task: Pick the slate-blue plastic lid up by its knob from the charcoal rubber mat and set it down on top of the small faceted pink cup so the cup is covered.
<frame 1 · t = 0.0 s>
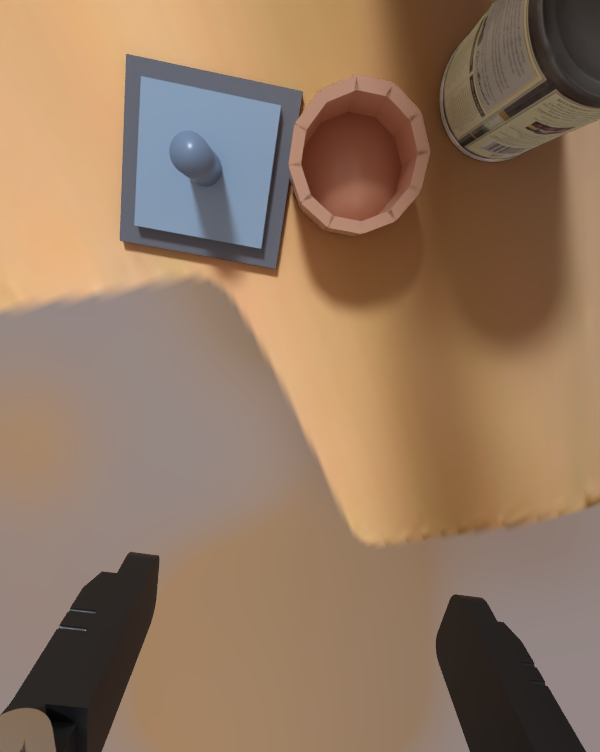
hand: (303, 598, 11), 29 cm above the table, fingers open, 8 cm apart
coffee can: (498, 94, 32), on the table
mat: (208, 171, 34), on the table
faceted pink cup: (349, 172, 34), on the table
lid: (206, 169, 33), point 1 cm above the table, touching mat
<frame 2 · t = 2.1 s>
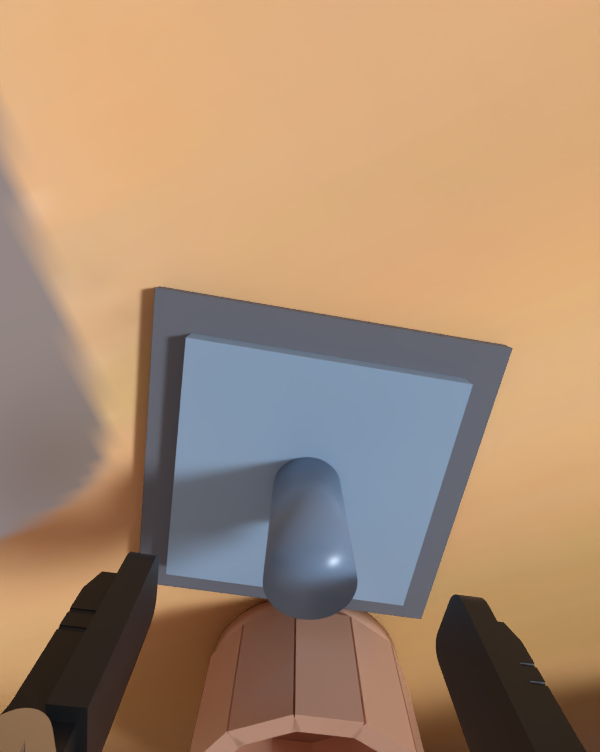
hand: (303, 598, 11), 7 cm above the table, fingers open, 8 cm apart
mat: (306, 469, 18), on the table
faceted pink cup: (304, 667, 21), on the table
lid: (306, 476, 17), point 1 cm above the table, touching mat
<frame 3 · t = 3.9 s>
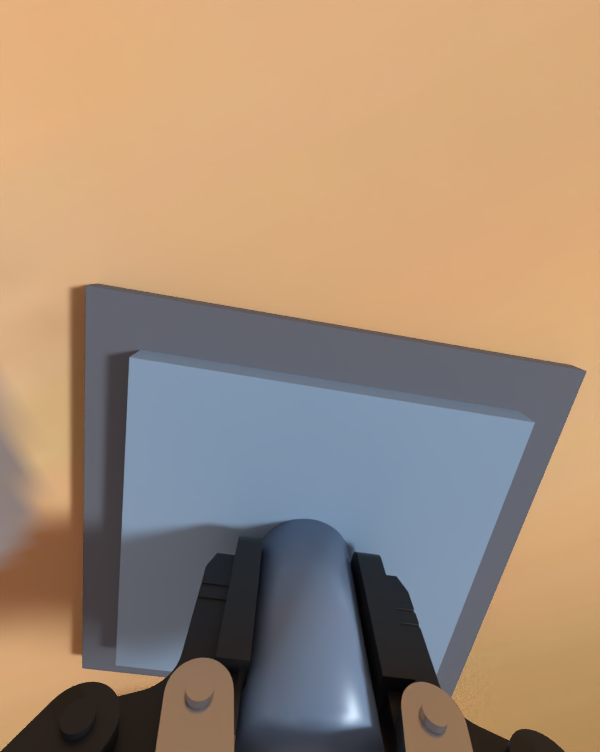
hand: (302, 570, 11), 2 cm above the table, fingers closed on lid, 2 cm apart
mat: (302, 526, 13), on the table
lid: (302, 538, 13), point 1 cm above the table, touching gripper, mat
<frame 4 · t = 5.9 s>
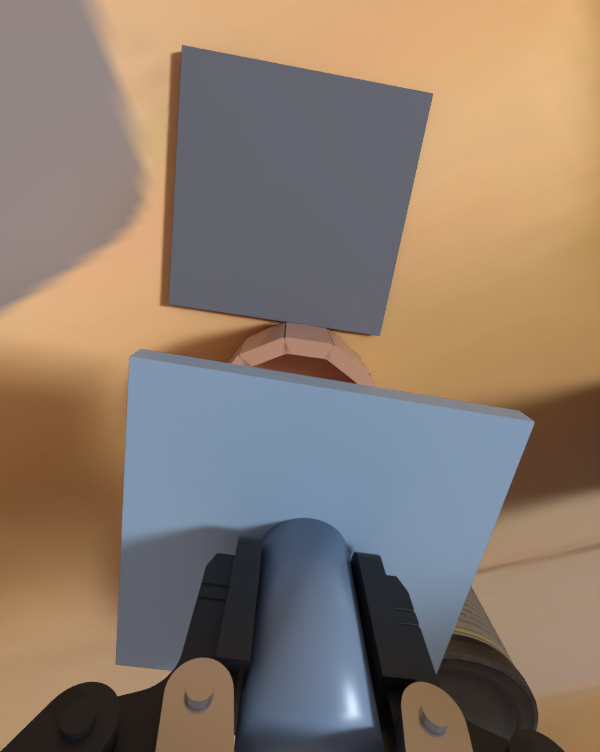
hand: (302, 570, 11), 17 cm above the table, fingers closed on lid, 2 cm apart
coffee can: (371, 529, 32), on the table
mat: (291, 207, 24), on the table
faceted pink cup: (294, 391, 28), on the table
lid: (302, 537, 13), point 16 cm above the table, touching gripper
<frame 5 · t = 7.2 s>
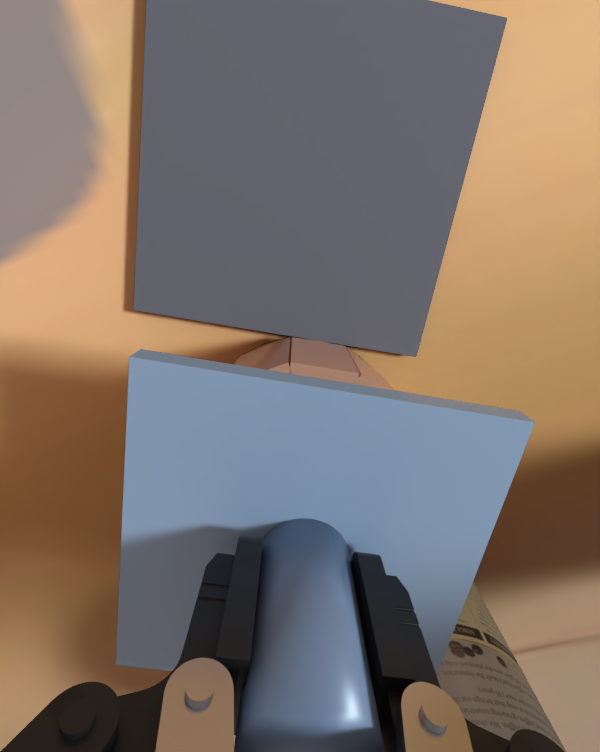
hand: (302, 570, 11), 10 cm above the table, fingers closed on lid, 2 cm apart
coffee can: (393, 597, 25), on the table
mat: (301, 180, 18), on the table
faceted pink cup: (300, 426, 21), on the table
lid: (302, 538, 13), point 9 cm above the table, touching gripper
when the fingers open (8 cm above the table, at t = 8.2 s): lid drops 1 cm, resting on faceted pink cup.
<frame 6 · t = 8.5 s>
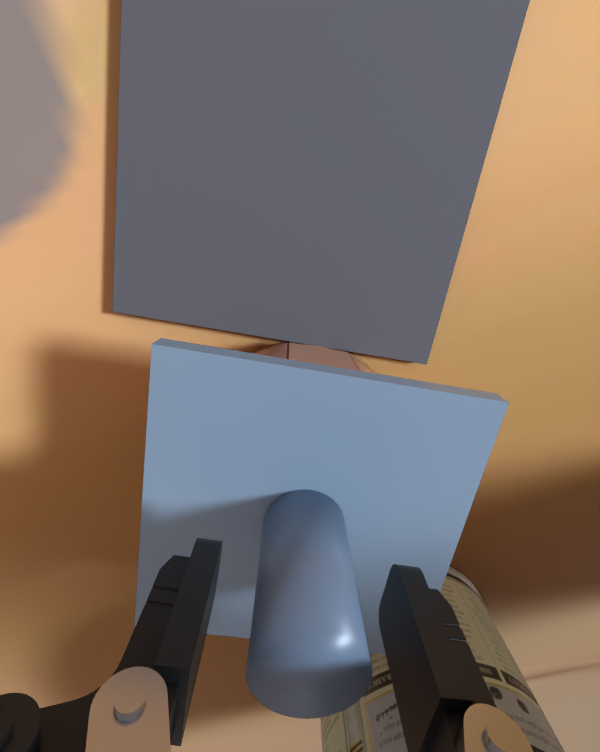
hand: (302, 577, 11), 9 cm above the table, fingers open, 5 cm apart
coffee can: (398, 620, 23), on the table
mat: (300, 167, 16), on the table
faceted pink cup: (298, 440, 19), on the table
lid: (303, 509, 14), point 5 cm above the table, touching faceted pink cup
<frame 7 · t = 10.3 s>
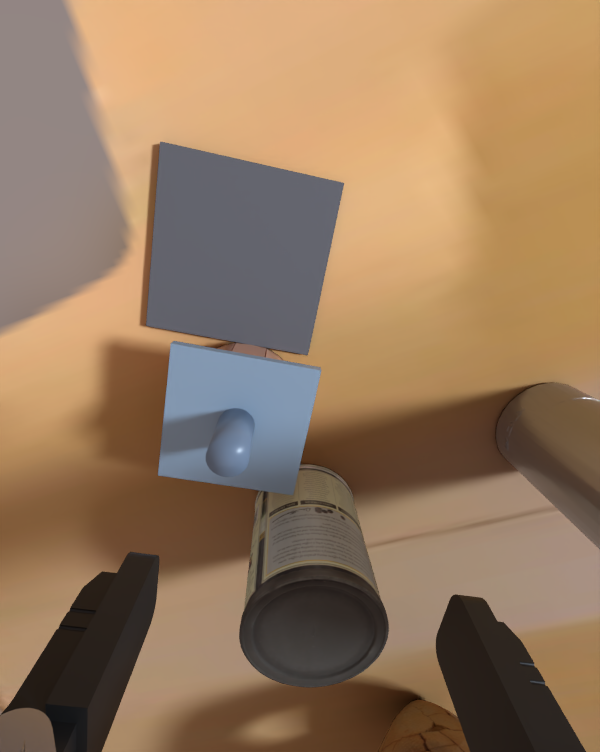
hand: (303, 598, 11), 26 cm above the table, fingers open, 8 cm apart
coffee can: (304, 505, 40), on the table
mat: (241, 257, 32), on the table
faceted pink cup: (243, 395, 36), on the table
bowl: (416, 702, 50), on the table
lid: (237, 420, 31), point 5 cm above the table, touching faceted pink cup
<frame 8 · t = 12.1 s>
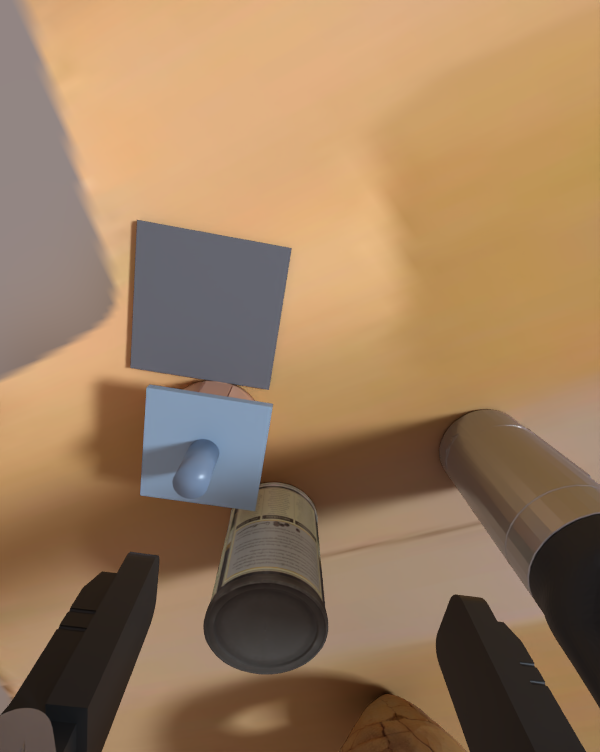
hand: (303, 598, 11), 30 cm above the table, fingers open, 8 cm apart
coffee can: (274, 517, 46), on the table
mat: (208, 309, 38), on the table
faceted pink cup: (216, 423, 42), on the table
bowl: (386, 696, 55), on the table
lid: (205, 448, 36), point 5 cm above the table, touching faceted pink cup
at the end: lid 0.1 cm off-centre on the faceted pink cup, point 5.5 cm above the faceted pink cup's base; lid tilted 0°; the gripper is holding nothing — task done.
